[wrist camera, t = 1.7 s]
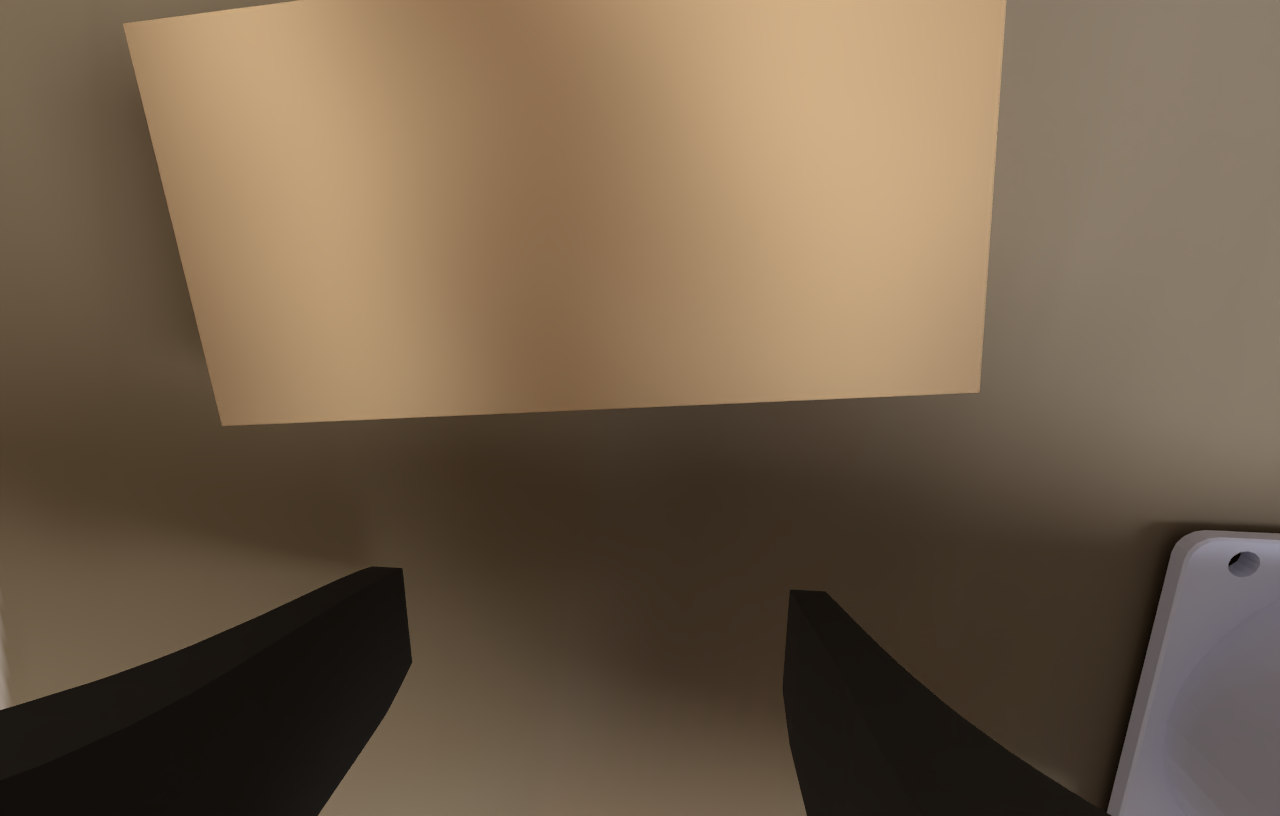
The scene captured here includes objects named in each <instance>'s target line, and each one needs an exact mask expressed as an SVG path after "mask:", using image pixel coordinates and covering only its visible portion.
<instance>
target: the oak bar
mask: <svg viewBox="0 0 1280 816" xmlns="http://www.w3.org/2000/svg"><path fill="white" fill-rule="evenodd" d="M1005 11H1006V0H300V1H292V2H284V3H277V4H269V5H261V6H254V7H246V8H238V9H231V10H223V11H216V12H208V13H200V14H193V15H185V16H177V17H170V18H162V19H154V20H147V21H139V22H131V23H124V24H123V26H124V30H125V34H126V38H127V42H128V47H129V51H130V55H131V59H132V63H133V67H134V71H135V75H136V79H137V83H138V87H139V91H140V95H141V99H142V103H143V107H144V111H145V116H146V120H147V124H148V128H149V132H150V136H151V140H152V144H153V148H154V152H155V156H156V160H157V164H158V168H159V172H160V176H161V180H162V185H163V189H164V193H165V197H166V201H167V205H168V209H169V213H170V217H171V221H172V225H173V229H174V233H175V237H176V241H177V245H178V249H179V254H180V258H181V262H182V266H183V270H184V274H185V278H186V282H187V286H188V290H189V294H190V298H191V302H192V306H193V310H194V314H195V318H196V323H197V327H198V331H199V335H200V339H201V343H202V347H203V351H204V355H205V359H206V363H207V367H208V371H209V375H210V379H211V383H212V387H213V392H214V396H215V400H216V404H217V408H218V412H219V416H220V420H221V424H222V426H235V425H257V424H280V423H302V422H325V421H347V420H370V419H392V418H415V417H438V416H460V415H483V414H505V413H528V412H550V411H573V410H596V409H618V408H641V407H663V406H686V405H708V404H731V403H753V402H776V401H799V400H821V399H844V398H866V397H889V396H911V395H934V394H957V393H979V391H980V377H981V362H982V347H983V333H984V318H985V304H986V289H987V274H988V260H989V245H990V231H991V216H992V201H993V187H994V172H995V157H996V143H997V128H998V114H999V99H1000V84H1001V70H1002V55H1003V41H1004V26H1005Z"/></svg>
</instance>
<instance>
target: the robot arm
mask: <svg viewBox="0 0 1280 816" xmlns="http://www.w3.org/2000/svg"><path fill="white" fill-rule="evenodd" d="M1240 552H1241V555H1240V557H1239V559H1238V560H1237V561H1236V562H1235V563H1233V564H1232V565H1230V566H1228V563H1229V562H1230V560H1231V558H1232V557H1233V556H1235V555H1237V554H1238V553H1240ZM411 663H412V657H411V647H410V638H409V628H408V618H407V609H406V599H405V589H404V580H403V570H402V568H389V567H369V568H366V569H363V570H360V571H358V572H355V573H353V574H350V575H348V576H345V577H343V578H341V579H338V580H336V581H334V582H332V583H330V584H327V585H325V586H323V587H321V588H319V589H317V590H314V591H312V592H310V593H308V594H306V595H304V596H301V597H299V598H297V599H295V600H293V601H291V602H289V603H286V604H284V605H282V606H280V607H278V608H276V609H274V610H271V611H269V612H267V613H265V614H263V615H261V616H258V617H256V618H254V619H252V620H249V621H247V622H245V623H242V624H240V625H238V626H236V627H233V628H231V629H229V630H226V631H224V632H222V633H219V634H217V635H215V636H212V637H210V638H208V639H206V640H203V641H201V642H199V643H196V644H194V645H192V646H189V647H187V648H184V649H182V650H179V651H177V652H174V653H172V654H169V655H166V656H164V657H161V658H159V659H156V660H154V661H151V662H148V663H145V664H142V665H140V666H137V667H134V668H131V669H129V670H126V671H123V672H120V673H118V674H115V675H112V676H109V677H106V678H103V679H100V680H97V681H94V682H91V683H88V684H85V685H81V686H78V687H75V688H72V689H68V690H65V691H62V692H59V693H55V694H52V695H49V696H46V697H42V698H39V699H36V700H33V701H29V702H26V703H23V704H20V705H16V706H13V707H10V708H6V709H3V710H0V816H318V814H319V813H320V811H321V810H322V808H323V807H324V805H325V804H326V802H327V801H328V800H329V798H330V797H331V795H332V794H333V792H334V791H335V789H336V788H337V786H338V785H339V783H340V782H341V780H342V779H343V778H344V776H345V775H346V773H347V772H348V770H349V769H350V767H351V766H352V764H353V763H354V761H355V760H356V758H357V757H358V755H359V754H360V753H361V751H362V750H363V748H364V747H365V745H366V744H367V742H368V741H369V739H370V738H371V736H372V735H373V733H374V732H375V730H376V729H377V727H378V726H379V724H380V722H381V721H382V719H383V718H384V716H385V715H386V713H387V711H388V709H389V708H390V706H391V704H392V702H393V700H394V698H395V696H396V694H397V692H398V690H399V688H400V686H401V684H402V682H403V680H404V678H405V676H406V674H407V672H408V670H409V668H410V666H411ZM783 696H784V704H785V712H786V720H787V727H788V735H789V742H790V747H791V752H792V756H793V760H794V764H795V768H796V772H797V777H798V781H799V785H800V789H801V793H802V797H803V801H804V805H805V809H806V813H807V816H1280V533H1259V532H1236V531H1214V530H1202V531H1194V532H1192V533H1190V534H1188V535H1185V536H1184V537H1182V538H1181V539H1180V540H1179V541H1178V542H1177V543H1176V544H1175V546H1174V548H1173V550H1172V552H1171V556H1170V560H1169V564H1168V568H1167V572H1166V576H1165V580H1164V584H1163V588H1162V593H1161V597H1160V601H1159V605H1158V609H1157V613H1156V617H1155V621H1154V625H1153V629H1152V633H1151V637H1150V641H1149V645H1148V649H1147V653H1146V657H1145V661H1144V665H1143V669H1142V673H1141V677H1140V681H1139V685H1138V689H1137V693H1136V697H1135V701H1134V705H1133V709H1132V713H1131V717H1130V722H1129V726H1128V730H1127V734H1126V738H1125V742H1124V746H1123V750H1122V754H1121V758H1120V762H1119V766H1118V770H1117V774H1116V778H1115V782H1114V786H1113V790H1112V794H1111V798H1110V802H1109V806H1108V810H1107V813H1106V812H1104V811H1103V810H1101V809H1099V808H1097V807H1096V806H1094V805H1092V804H1091V803H1089V802H1087V801H1086V800H1084V799H1082V798H1081V797H1079V796H1078V795H1076V794H1074V793H1073V792H1071V791H1070V790H1068V789H1067V788H1065V787H1063V786H1062V785H1060V784H1059V783H1057V782H1055V781H1054V780H1052V779H1051V778H1049V777H1047V776H1046V775H1044V774H1043V773H1041V772H1039V771H1038V770H1036V769H1035V768H1033V767H1032V766H1030V765H1029V764H1027V763H1026V762H1024V761H1023V760H1021V759H1020V758H1018V757H1017V756H1015V755H1014V754H1012V753H1011V752H1009V751H1008V750H1007V749H1005V748H1004V747H1002V746H1001V745H1000V744H998V743H997V742H996V741H994V740H993V739H991V738H990V737H989V736H987V735H986V734H985V733H983V732H982V731H980V730H979V729H978V728H976V727H975V726H974V725H972V724H971V723H969V722H968V721H967V720H965V719H964V718H963V717H961V716H960V715H959V714H958V713H956V712H955V711H954V710H952V709H951V708H950V707H949V706H947V705H946V704H945V703H944V702H943V701H941V700H940V699H939V698H938V697H937V696H935V695H934V694H933V693H932V692H931V691H929V690H928V689H927V688H926V687H925V686H924V685H922V684H921V683H920V682H919V681H918V680H916V679H915V678H914V677H913V676H912V675H911V674H910V673H908V672H907V671H906V670H905V669H904V668H903V667H902V666H901V665H900V664H898V663H897V662H896V661H895V660H894V659H893V658H892V657H891V656H890V655H889V654H888V653H887V652H886V651H885V650H883V649H882V648H881V647H880V646H879V645H878V644H877V643H876V642H875V641H874V640H873V639H872V638H871V637H870V636H869V635H868V634H867V633H866V632H865V631H864V630H863V629H862V628H861V627H860V626H859V625H858V624H857V623H856V622H855V621H854V620H853V619H852V618H851V617H850V616H849V615H848V614H847V613H846V612H845V611H844V610H843V609H842V608H841V607H840V606H839V605H838V604H837V603H836V602H835V601H834V600H833V599H832V598H831V597H830V596H829V595H828V594H827V593H826V592H822V591H804V590H790V596H789V609H788V623H787V636H786V650H785V663H784V677H783Z"/></svg>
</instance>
